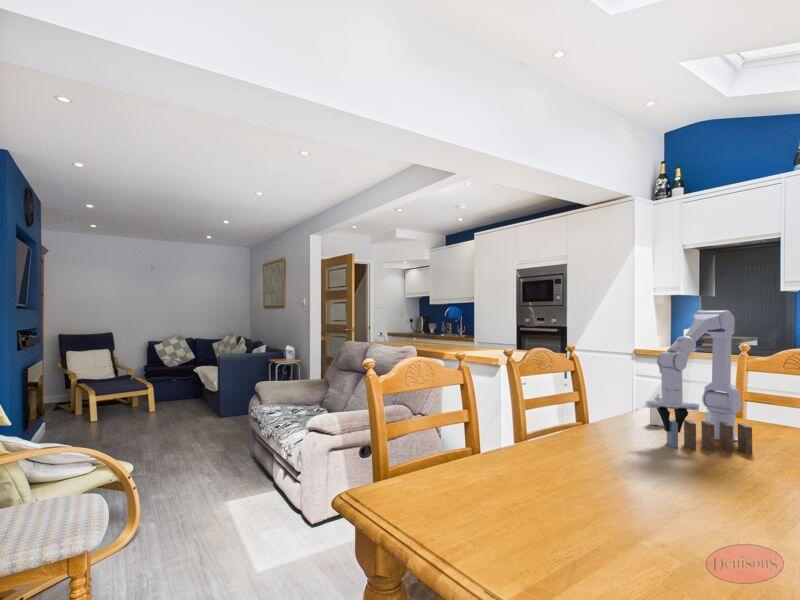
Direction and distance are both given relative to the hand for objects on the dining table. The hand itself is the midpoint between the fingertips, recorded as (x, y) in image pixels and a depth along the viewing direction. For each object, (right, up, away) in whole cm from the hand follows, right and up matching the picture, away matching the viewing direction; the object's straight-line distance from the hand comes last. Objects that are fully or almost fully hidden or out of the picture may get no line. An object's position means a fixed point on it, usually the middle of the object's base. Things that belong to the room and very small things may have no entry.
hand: (672, 431), depth 138 cm
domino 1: (0, -5, 0) cm, 4 cm away
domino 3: (+10, -5, -3) cm, 11 cm away
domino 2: (+5, -5, -1) cm, 7 cm away
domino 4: (+15, -5, -4) cm, 16 cm away
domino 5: (+19, -5, -5) cm, 20 cm away
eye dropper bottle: (+11, -6, +25) cm, 28 cm away
